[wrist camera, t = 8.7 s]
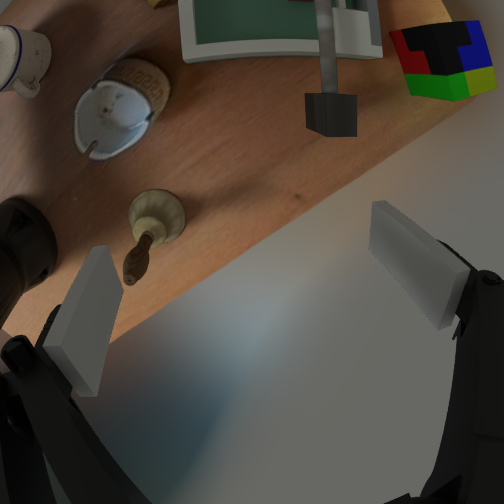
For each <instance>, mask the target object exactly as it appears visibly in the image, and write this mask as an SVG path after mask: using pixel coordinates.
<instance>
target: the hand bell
mask: <svg viewBox="0 0 504 504" xmlns="http://www.w3.org/2000/svg"><path fill="white" fill-rule="evenodd" d="M128 218H129V223H130V226H131V228H132V230H133V236H134V239H135V240H136V242H137V246H136V247H134V248H133V249H132V250H131V251H130V252H129V253H128V254H127V256H126V258H125V260H124V263H123V281H124V283H125V284H126V285H128V286H132V285H134V284H135V283H136V282H137V281H138V280H139V279H141V278H142V277H143V275H144V274H145V273H146V271H147V268H148V264H149V253H148V251H149V249H153V248H157V247H159V246H161V245H162V244H165V243H168V242H171V241H173V240H174V239H176V238H177V237H178V236H179V235H180V234H181V232H182V230H183V228H184V226H185V220H186V217H185V211H184V208H183V206H182V204H181V202H180V201H179V200H178V199H177V198H176V197H175V196H174V195H172V194H171V193H169V192H167V191H164V190H159V189H152V190H147V191H144V192H142V193H140V194H139V195H138V196H137V197H136V198H135V199H134V200H133V201H132V203H131V205H130V208H129V212H128Z"/></svg>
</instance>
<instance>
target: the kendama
mask: <svg viewBox="0 0 504 504" xmlns="http://www.w3.org/2000/svg"><path fill="white" fill-rule="evenodd" d="M146 1H147V3H148V4H149V5H150V6H151V7H152V8H153V9H157V8H159V7H161V6H162V5H163V4H165V3H166V2H167V1H168V0H146Z"/></svg>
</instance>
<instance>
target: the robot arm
mask: <svg viewBox="0 0 504 504" xmlns="http://www.w3.org/2000/svg"><path fill="white" fill-rule="evenodd" d="M369 250H370V251H371V252H372V254H373V255H374V256H375V257H376V258H377V259H378V260H379V261H380V262H381V264H382V265H383V266H384V267H385V268H386V269H387V270H388V271H389V272H390V274H391V275H392V276H393V277H394V278H395V280H396V281H397V282H398V283H399V284H400V285H401V286H402V288H403V289H404V290H405V291H406V292H407V294H408V295H409V296H410V297H411V298H412V300H413V301H414V302H415V303H416V304H417V306H418V307H419V308H420V309H421V311H423V313H424V314H425V315H426V317H427V318H428V319H429V320H430V322H431V323H432V324H433V325H434V327H435V328H436V329H437V330H441V329H443V328H445V327H448V326H451V324H452V321H453V319H454V316H455V314H456V315H457V316H458V317H459V318H460V321H459V323H458V326H457V328H456V331H455V333H454V335H453V338H452V340H454V339H455V337H456V336H457V343H456V355H455V364H454V373H453V381H452V388H451V394H450V401H449V406H448V412H447V417H446V422H445V426H444V431H443V435H442V440H441V444H440V448H439V452H438V455H437V459H436V463H435V466H434V469H433V472H432V474H431V476H430V477H429V479H428V480H427V482H426V484H425V486H424V488H423V490H422V492H421V494H420V497H412V498H411V497H410V494H409V493H407V494H405V495H403V496H401V497H398V498H396V499H394V500H391V501H389V502H387V503H384V504H504V280H502V279H501V277H500V276H498V275H497V274H496V273H494V272H492V271H489V270H481V271H478V270H477V269H475V268H474V267H473V266H472V265H471V264H470V263H469V262H467V261H466V260H465V259H464V258H463V257H462V256H460V255H459V254H458V253H457V252H456V251H454V250H453V249H452V248H451V247H450V246H449V245H447V244H445V243H443V242H441V241H439V240H436V239H435V238H434V237H432V236H431V235H430V234H429V233H427V232H426V231H425V230H424V229H422V228H421V227H420V226H418V225H417V224H416V223H415V222H413V221H412V220H411V219H409V218H408V217H407V216H405V215H404V214H403V213H401V212H400V211H399V210H397V209H396V208H395V207H393V206H392V205H391V204H389V203H388V202H387V201H385V200H384V201H375V202H372V214H371V228H370V239H369ZM56 260H57V244H56V240H55V236H54V233H53V231H52V229H51V227H50V225H49V223H48V221H47V220H46V219H45V217H44V216H43V215H42V214H41V212H40V211H39V210H38V209H36V208H35V207H34V206H33V205H31V204H29V203H28V202H25V201H23V200H19V199H9V200H6V201H3V202H2V203H0V329H1V328H2V326H3V324H4V323H5V321H6V319H7V318H8V316H9V314H10V313H11V311H12V310H13V308H14V306H15V305H16V303H17V302H18V300H19V299H20V297H21V296H22V294H24V293H25V292H27V291H29V290H30V289H32V288H34V287H36V286H37V285H39V284H41V283H42V282H43V281H44V280H45V279H46V278H47V277H48V276H49V274H50V273H51V272H52V270H53V268H54V266H55V264H56ZM123 292H124V290H123V287H122V284H121V282H120V279H119V277H118V274H117V271H116V269H115V266H114V263H113V261H112V258H111V255H110V252H109V249H108V246H107V244H104V245H99V246H94V247H93V248H92V249H91V251H90V253H89V255H88V256H87V258H86V260H85V262H84V263H83V265H82V267H81V269H80V271H79V272H78V274H77V276H76V278H75V280H74V282H73V284H72V285H71V287H70V289H69V291H68V293H67V295H66V297H65V299H64V301H63V303H62V304H59V305H57V306H56V307H55V308H54V310H53V311H52V312H51V313H50V315H49V317H48V319H47V321H46V323H45V325H44V327H43V330H42V331H41V333H40V336H39V338H38V340H37V342H36V344H35V347H33V345H32V344H31V342H30V341H29V339H28V338H27V337H26V336H24V335H17V336H15V337H13V338H11V339H10V340H9V341H8V342H7V343H6V344H5V345H4V346H3V348H2V350H1V355H0V357H1V359H2V360H3V361H4V363H5V364H6V365H7V367H8V368H9V369H10V370H11V371H10V372H7V373H4V374H1V372H0V504H57V503H56V500H55V497H54V494H53V490H52V487H51V483H50V480H49V476H48V472H47V468H46V464H45V460H44V456H43V452H44V454H45V456H46V458H47V460H48V462H49V464H50V466H51V468H52V470H53V472H54V474H55V476H56V477H57V479H58V481H59V483H60V485H61V486H62V488H63V490H64V491H65V493H66V495H67V496H68V498H69V500H70V501H71V503H72V504H152V503H151V502H150V501H149V500H148V499H147V498H146V497H145V495H144V494H143V493H142V492H141V491H140V490H139V489H138V488H137V486H136V485H135V484H134V483H133V482H132V481H131V479H130V478H129V477H128V476H127V475H126V473H125V472H124V471H123V470H122V468H121V467H120V466H119V465H118V463H117V462H116V461H115V460H114V458H113V457H112V456H111V454H110V453H109V452H108V450H107V449H106V447H105V446H104V445H103V443H102V442H101V441H100V439H99V438H98V436H97V435H96V434H95V432H94V430H93V429H92V427H91V426H90V424H89V423H88V421H87V420H86V418H85V417H84V415H83V414H82V412H81V410H80V409H79V407H78V406H77V404H76V402H75V401H74V399H73V398H72V397H71V396H70V395H71V391H72V387H73V389H74V390H75V391H76V392H77V394H78V395H79V396H80V397H96V396H97V392H98V388H99V383H100V379H101V373H102V370H103V365H104V361H105V357H106V353H107V349H108V345H109V341H110V337H111V333H112V330H113V326H114V322H115V319H116V315H117V312H118V308H119V305H120V302H121V298H122V295H123ZM42 450H43V451H42Z"/></svg>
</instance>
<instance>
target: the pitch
mask: <svg viewBox="0 0 504 504" xmlns="http://www.w3.org/2000/svg"><path fill="white" fill-rule="evenodd" d="M178 6H179V20H180V32H181V44H182V55H183V60H184V61H185V62H186V63H187V64H194V63H201V62H209V61H218V60H228V59H240V58H256V57H320V53H319V40H318V29H317V19H316V9H315V0H314V1H313V2H300V1H288V0H178ZM331 7H332V16H333V26H334V36H335V49H336V58H344V59H356V60H369V59H377V58H383V53H382V40H381V29H380V19H379V11H378V3H377V0H331Z"/></svg>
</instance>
